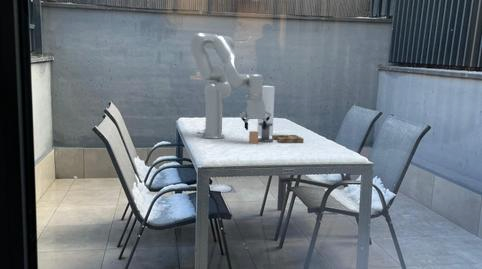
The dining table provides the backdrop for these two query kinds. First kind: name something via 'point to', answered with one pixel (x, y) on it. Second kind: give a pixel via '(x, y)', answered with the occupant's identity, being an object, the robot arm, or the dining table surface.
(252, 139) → the tab
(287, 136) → the board
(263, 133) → the spool
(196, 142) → the dining table surface
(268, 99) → the white tall cylinder
